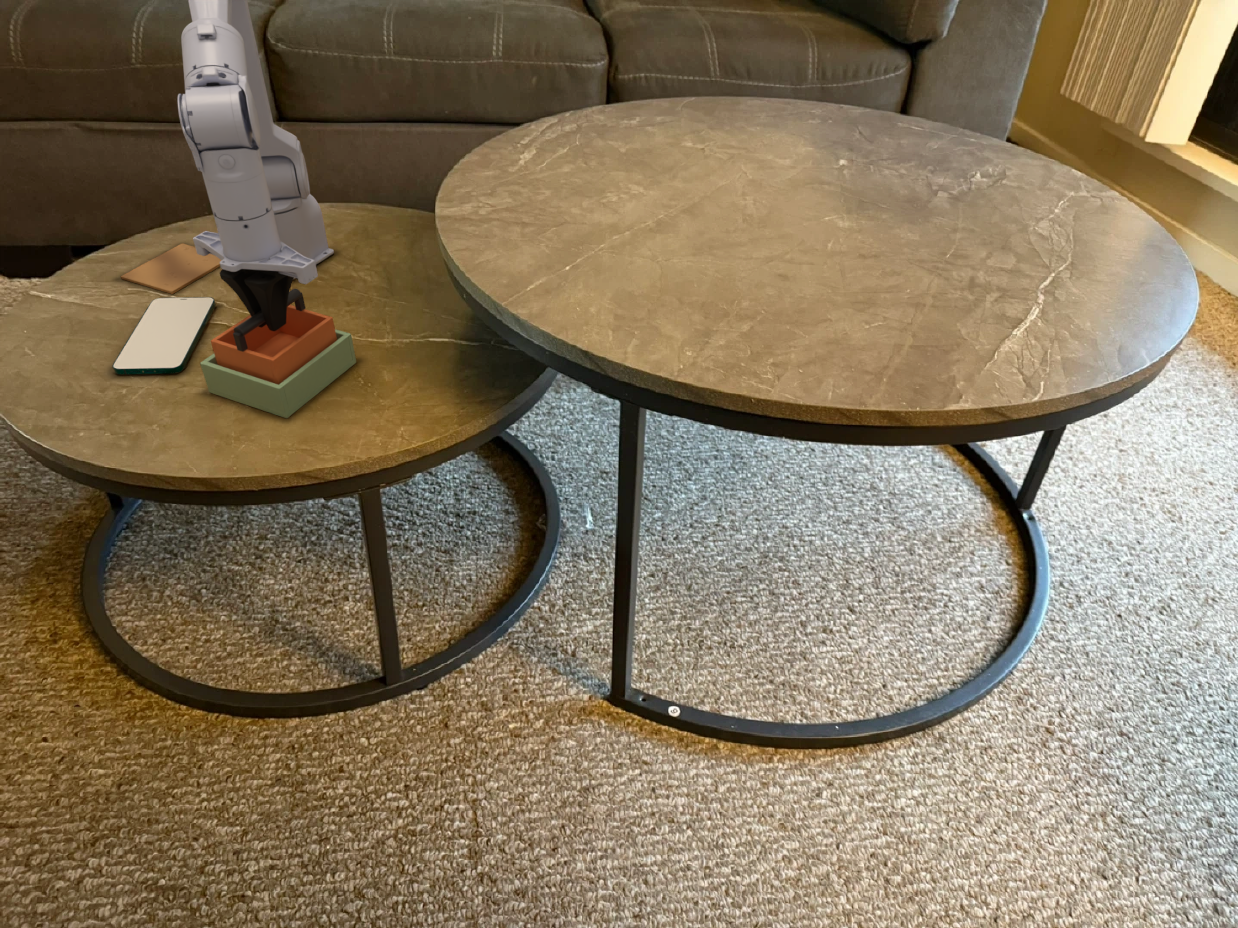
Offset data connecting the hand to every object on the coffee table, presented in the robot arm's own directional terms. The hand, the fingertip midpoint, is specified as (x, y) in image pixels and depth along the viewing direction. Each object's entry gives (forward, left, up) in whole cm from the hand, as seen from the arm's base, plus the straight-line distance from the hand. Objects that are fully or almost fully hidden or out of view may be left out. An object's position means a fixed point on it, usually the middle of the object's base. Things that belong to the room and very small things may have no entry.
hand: (271, 324), depth 101 cm
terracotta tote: (0, 0, -5) cm, 5 cm away
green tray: (0, 0, -7) cm, 7 cm away
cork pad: (-14, -30, -7) cm, 34 cm away
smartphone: (0, -18, -7) cm, 19 cm away
